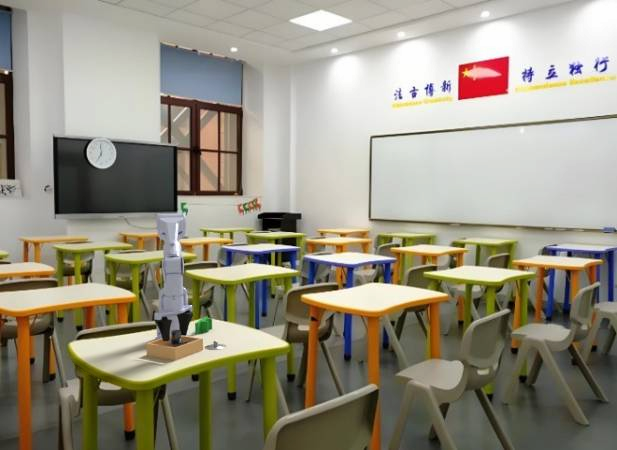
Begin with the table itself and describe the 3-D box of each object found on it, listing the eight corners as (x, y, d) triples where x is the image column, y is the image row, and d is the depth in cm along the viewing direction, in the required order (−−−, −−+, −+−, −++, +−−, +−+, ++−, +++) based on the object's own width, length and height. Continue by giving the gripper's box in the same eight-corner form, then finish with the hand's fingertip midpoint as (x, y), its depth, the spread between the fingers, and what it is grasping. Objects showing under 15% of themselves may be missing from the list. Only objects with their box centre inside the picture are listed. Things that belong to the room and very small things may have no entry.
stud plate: (200, 349, 163) (199, 342, 163) (214, 344, 169) (214, 337, 169) (217, 352, 159) (216, 344, 159) (230, 346, 166) (230, 339, 165)
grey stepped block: (165, 353, 157) (164, 332, 157) (174, 349, 162) (174, 328, 161) (178, 355, 155) (177, 333, 155) (188, 350, 160) (187, 329, 160)
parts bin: (146, 356, 156) (146, 343, 156) (174, 346, 167) (174, 334, 167) (175, 361, 150) (175, 348, 150) (203, 350, 161) (202, 338, 161)
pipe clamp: (205, 336, 181) (205, 323, 181) (195, 335, 182) (194, 323, 181) (214, 328, 192) (214, 316, 192) (205, 328, 193) (205, 316, 192)
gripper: (166, 300, 150) (167, 345, 150) (199, 292, 162) (200, 334, 163) (149, 298, 153) (150, 342, 154) (182, 290, 166) (183, 331, 166)
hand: (174, 338), depth 159 cm, fingers open, 7 cm apart
